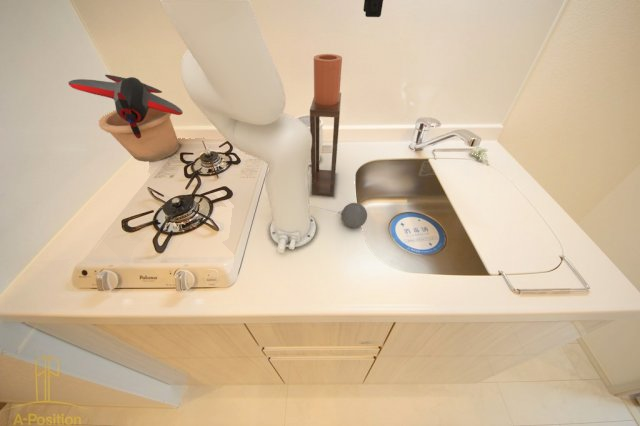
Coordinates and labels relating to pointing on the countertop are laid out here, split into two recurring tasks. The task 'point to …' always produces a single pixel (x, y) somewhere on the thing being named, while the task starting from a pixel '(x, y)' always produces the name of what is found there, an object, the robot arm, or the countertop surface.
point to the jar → (306, 120)
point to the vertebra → (480, 151)
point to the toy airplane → (128, 98)
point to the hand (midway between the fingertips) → (371, 14)
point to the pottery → (144, 135)
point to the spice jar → (327, 78)
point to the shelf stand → (320, 178)
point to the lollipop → (353, 215)
